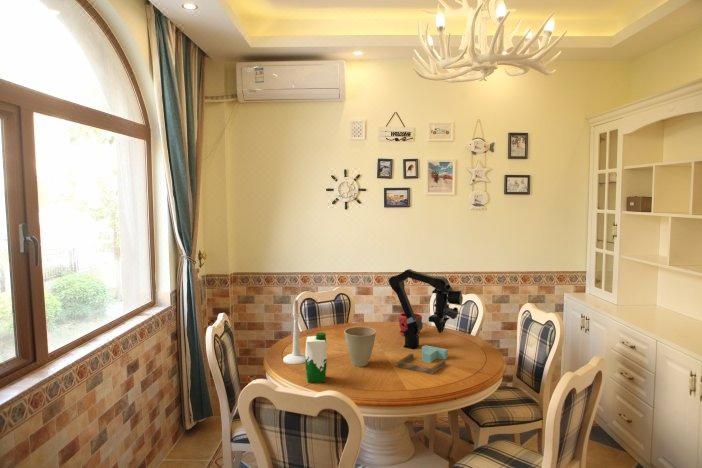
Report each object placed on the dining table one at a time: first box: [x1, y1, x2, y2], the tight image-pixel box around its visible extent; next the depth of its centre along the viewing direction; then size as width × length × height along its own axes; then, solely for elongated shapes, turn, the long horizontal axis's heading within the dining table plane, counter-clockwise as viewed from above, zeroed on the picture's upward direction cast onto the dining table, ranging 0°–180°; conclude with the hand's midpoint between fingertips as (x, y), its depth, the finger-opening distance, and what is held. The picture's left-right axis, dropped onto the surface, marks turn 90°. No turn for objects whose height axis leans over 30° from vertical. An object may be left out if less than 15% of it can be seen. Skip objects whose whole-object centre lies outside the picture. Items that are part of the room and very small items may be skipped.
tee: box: [421, 344, 448, 364], centre depth 220 cm, size 12×12×4 cm
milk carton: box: [304, 332, 328, 384], centre depth 193 cm, size 9×9×20 cm
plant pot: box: [343, 326, 377, 368], centre depth 212 cm, size 15×15×16 cm
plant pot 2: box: [398, 312, 423, 337], centre depth 259 cm, size 13×13×12 cm
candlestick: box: [282, 299, 305, 366], centre depth 217 cm, size 13×13×30 cm
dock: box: [396, 353, 446, 375], centre depth 210 cm, size 18×14×2 cm
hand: (440, 332), depth 230 cm, fingers closed
